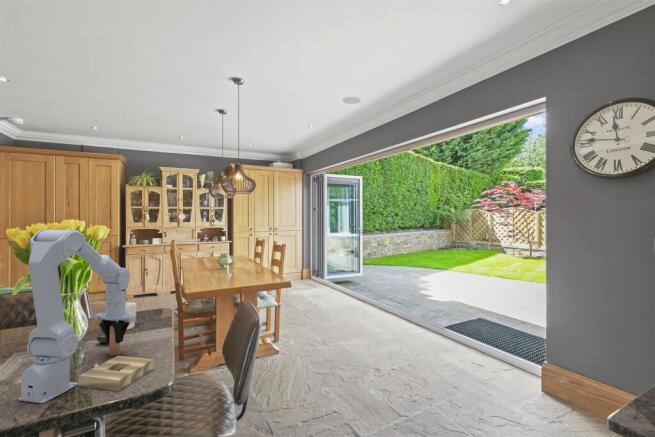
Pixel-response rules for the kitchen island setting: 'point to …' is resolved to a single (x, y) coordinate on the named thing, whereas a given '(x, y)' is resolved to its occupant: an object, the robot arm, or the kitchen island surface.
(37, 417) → the kitchen island surface
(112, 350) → the peg
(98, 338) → the chess piece
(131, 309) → the white cup
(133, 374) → the socket block
